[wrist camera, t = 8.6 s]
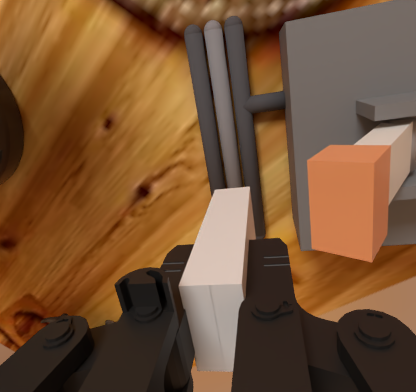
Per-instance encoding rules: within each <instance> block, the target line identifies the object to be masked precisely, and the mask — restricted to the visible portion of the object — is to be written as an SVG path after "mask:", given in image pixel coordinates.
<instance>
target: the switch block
mask: <svg viewBox="0 0 416 392" xmlns="http://www.w3.org/2000/svg"><path fill="white" fill-rule="evenodd" d="M279 40H280V53H281V66H282V79H283V91H284V93H285V103H286V108H285V119H286V133H287V146H288V159H289V172H290V186H291V199H292V212H293V220H294V224H295V228H296V233H297V237H298V241H299V245H300V249H301V251H309V250H315V249H312V243H311V225H310V206H309V188H308V169H307V160H309V159H310V158H311V157H313V156H314V155H316V154H317V153H319V152H320V151H322V150H323V149H325V148H326V147H328V146H329V145H354V144H355V143H356V142H358V141H359V140H360V139H361V138H363V137H364V136H365V135H366V134H368V133H369V132H370V131H371V130H373V129H374V128H375V127H376V126H378V125H379V124H380V121H381V120H388V119H396V118H403V117H416V0H393V1H388V2H383V3H378V4H373V5H368V6H363V7H358V8H353V9H348V10H343V11H338V12H333V13H328V14H323V15H318V16H313V17H308V18H303V19H298V20H293V21H288V22H285V24H284V25H283V27H282V29H281V30H280V32H279ZM406 244H416V169H415V170H414V171H411V172H409V174H408V175H407V177H406V179H405V180H404V182H403V183H402V185H401V187H400V188H399V190H398V191H397V193H396V194H395V196H394V198H393V199H392V201H391V202H390V204H389V206H388V230H387V236H386V238H385V240H384V242H383V243H382V245H381V246H390V245H406Z"/></svg>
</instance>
